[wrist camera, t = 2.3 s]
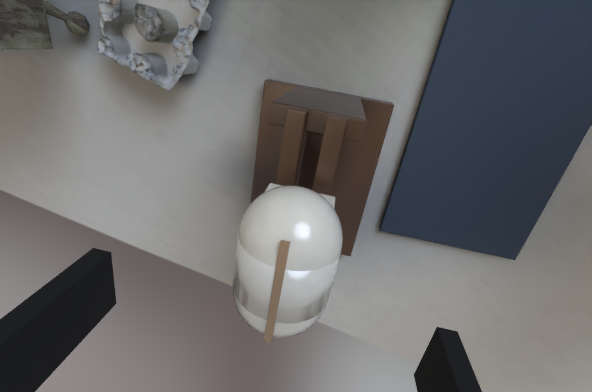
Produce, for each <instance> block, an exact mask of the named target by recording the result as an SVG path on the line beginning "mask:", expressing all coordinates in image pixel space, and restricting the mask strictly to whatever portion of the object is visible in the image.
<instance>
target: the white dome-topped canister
mask: <svg viewBox="0 0 592 392" xmlns="http://www.w3.org/2000/svg"><path fill="white" fill-rule="evenodd" d="M334 209H335V197H334V196H329V195H324V194H320V193H317V192H315V191H313V190H311V189H309V188H306V187H302V186H296V185H287V186H282V185H277V184H273V183H270V184H269V186H268V187H267V189H266V190H265V192H264V193H262V194H261V195H260V196H258V197H257V198H256V199H255V200H254V201H253V202H252V203H251V204H250V205H249V207H248V208H247V209H246V211H245V213H244V215H243V217H242V219H241V222H240V226H239V230H238V238H237V248H236V258H235V268H234V278H233V295H234V300H235V304H236V307H237V309H238V311H239V313H240V315H241V316H242V318H243V319H244V320H245V321H246V323H247V324H248V325H249V326H251V327H252V328H253V329H255V330H256V331H258V332H260V333H262V334H264V340H263V341H264V342H268V343H272V339H273V337H290V336H295V335H298V334H300V333H302V332H304V331H305V330H307V329H308V328H310V327H311V326H312V325H313V324H314V323H315V322H316V321H317V320H318V319H319V318H320V316H321V315H322V313H323V311H324V309H325V307H326V305H327V302H328V299H329V295H330V291H331V288H332V284H333V280H334V277H335V273H336V269H337V266H338V262H339V258H340V255H341V250H342V243H343V234H342V226H341V223H340V220H339V217H338V215H337V213H336V211H335V210H334Z"/></svg>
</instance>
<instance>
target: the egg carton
mask: <svg viewBox="0 0 592 392" xmlns="http://www.w3.org/2000/svg"><path fill="white" fill-rule="evenodd" d="M209 1H210V0H99V17H100V30H101V33H102V37H101V39H100V40H99V41H98V50H99V52H100V53H101V54H104V55H107V56H109V57H111V58H112V59H114V60H116V62H117V63H118V64H121V65H123V66H125V67H127V68H129V69H130V70H132V71H133V72H135V73H137V74H139V75H140V76H142V77H144V78H145V79H147V80H149V81H152V82H155V83H156V84H158V85H159V86H161V87H162V88H165V89H167V90H171V89H172V88H173V86H174V85H175V84H176V82H177V81H178V80H179V78H180V77H181V76H182V75H186V74H194V73H196V72H197V70H198V66H199V61H198V60H197V59H196V58H195V57H194V55H193V45H192V41H193V40H194V38H195V36H196V35H197V33H198V31H209V29H210V28H211V23H212V17H211V16H210V15H209V14H208V13H207V11H206V9H207V6H208V3H209Z"/></svg>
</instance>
